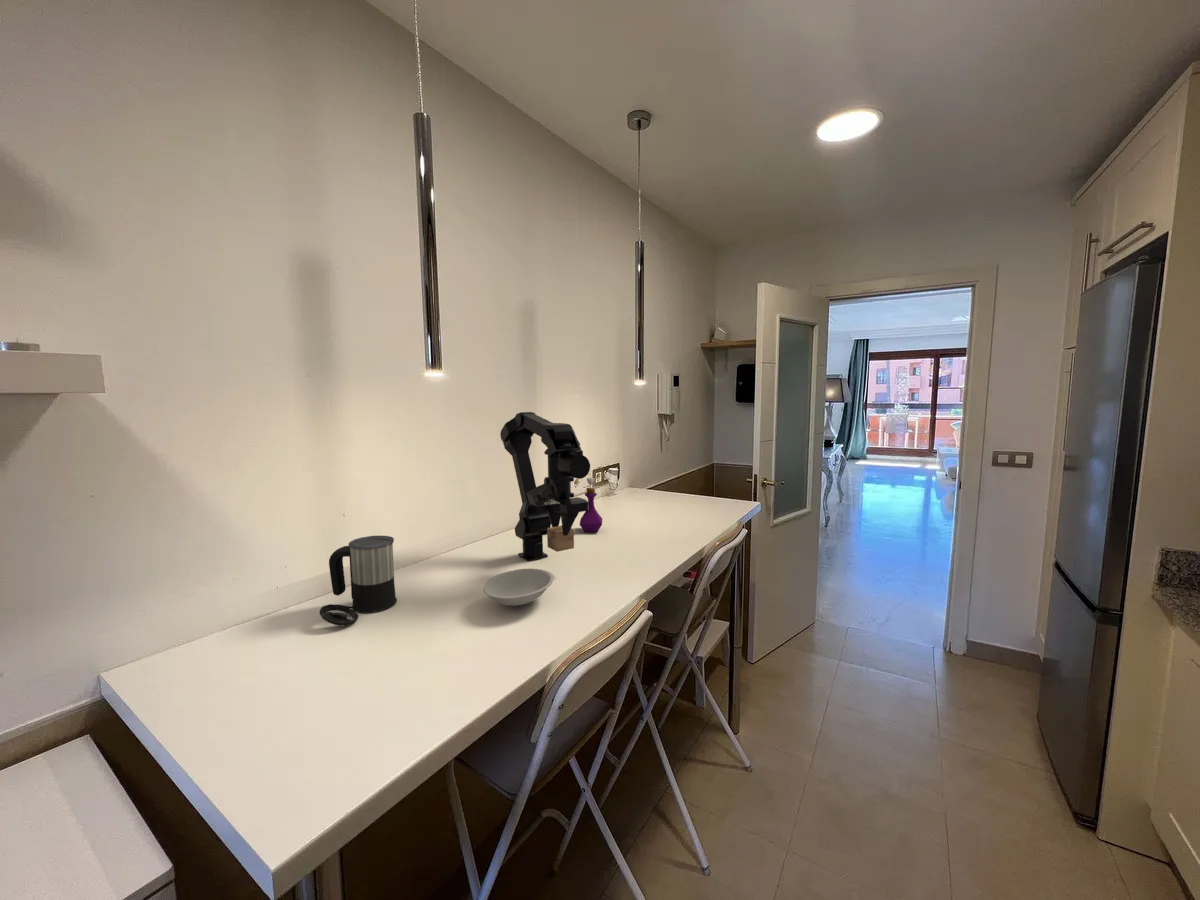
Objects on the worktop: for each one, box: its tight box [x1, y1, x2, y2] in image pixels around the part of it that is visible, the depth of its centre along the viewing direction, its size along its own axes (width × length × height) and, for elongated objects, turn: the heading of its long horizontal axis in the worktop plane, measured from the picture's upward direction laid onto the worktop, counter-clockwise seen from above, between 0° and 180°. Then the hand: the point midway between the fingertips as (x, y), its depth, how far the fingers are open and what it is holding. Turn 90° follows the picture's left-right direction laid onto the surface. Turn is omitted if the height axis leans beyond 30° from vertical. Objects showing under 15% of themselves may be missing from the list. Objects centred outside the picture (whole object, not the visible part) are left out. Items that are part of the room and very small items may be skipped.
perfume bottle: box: [579, 477, 603, 533], centre depth 169 cm, size 8×8×18 cm
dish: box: [482, 568, 554, 607], centre depth 113 cm, size 18×14×5 cm
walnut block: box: [546, 525, 575, 553], centre depth 131 cm, size 5×5×5 cm
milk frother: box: [319, 535, 398, 627], centre depth 108 cm, size 14×16×15 cm
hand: (560, 532), depth 130 cm, fingers closed on walnut block, 5 cm apart
